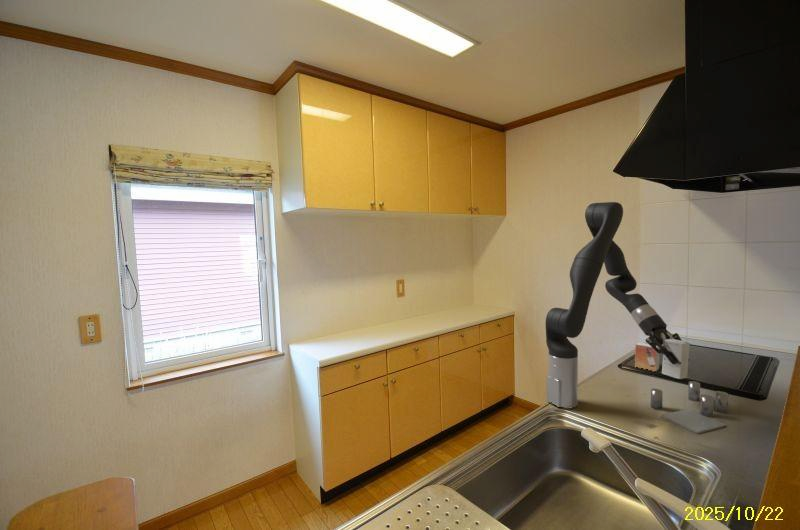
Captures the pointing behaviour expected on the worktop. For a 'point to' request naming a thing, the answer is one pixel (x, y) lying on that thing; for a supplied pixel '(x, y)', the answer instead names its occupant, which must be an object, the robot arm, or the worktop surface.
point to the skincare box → (681, 354)
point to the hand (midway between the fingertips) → (681, 362)
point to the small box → (646, 357)
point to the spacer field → (696, 399)
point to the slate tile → (692, 421)
